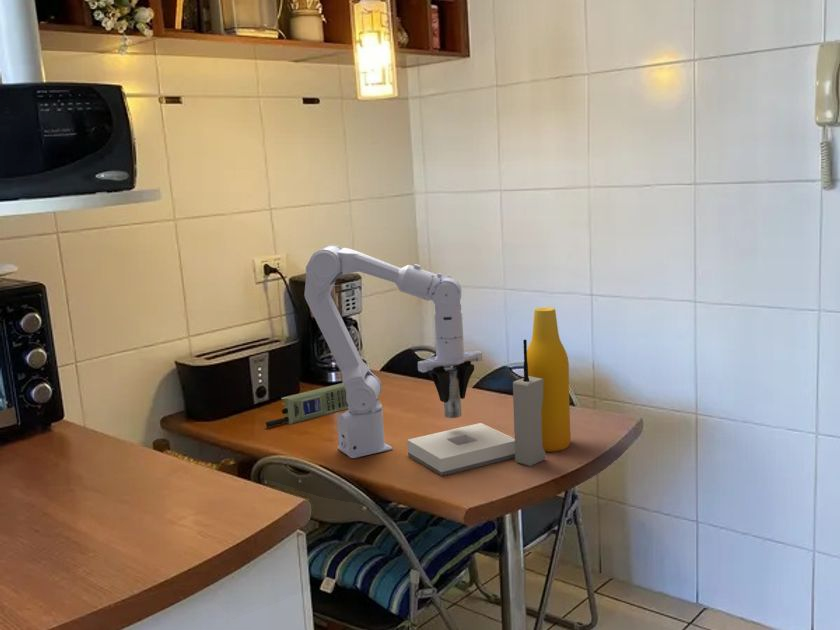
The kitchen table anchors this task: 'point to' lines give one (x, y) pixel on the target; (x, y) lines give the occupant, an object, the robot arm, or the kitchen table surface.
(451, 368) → the steel pin
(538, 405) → the vintage mobile phone
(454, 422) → the kitchen table surface
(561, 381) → the beer bottle
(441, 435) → the grey hole plate
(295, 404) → the handheld radio
